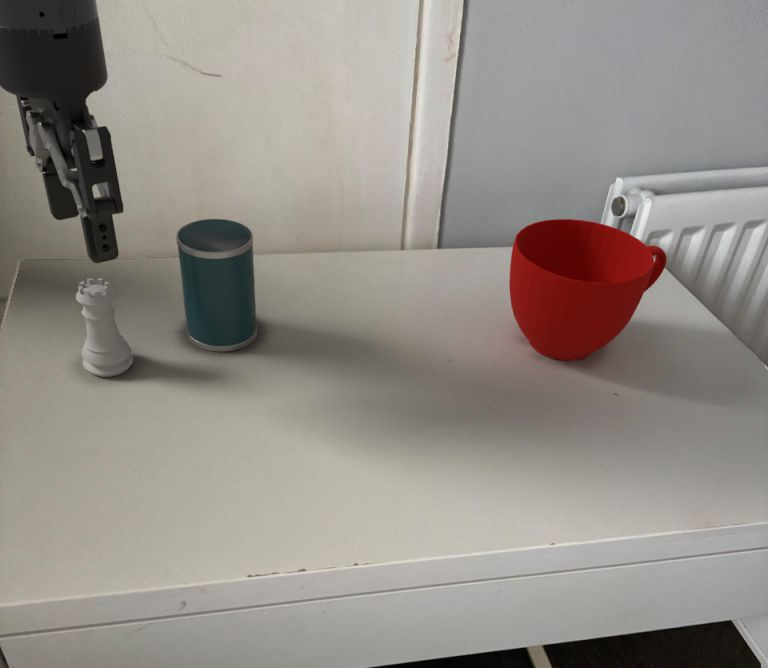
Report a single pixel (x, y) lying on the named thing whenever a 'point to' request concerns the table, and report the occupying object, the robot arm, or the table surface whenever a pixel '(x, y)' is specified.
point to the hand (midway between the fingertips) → (84, 237)
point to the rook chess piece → (102, 331)
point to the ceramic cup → (578, 284)
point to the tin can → (218, 283)
